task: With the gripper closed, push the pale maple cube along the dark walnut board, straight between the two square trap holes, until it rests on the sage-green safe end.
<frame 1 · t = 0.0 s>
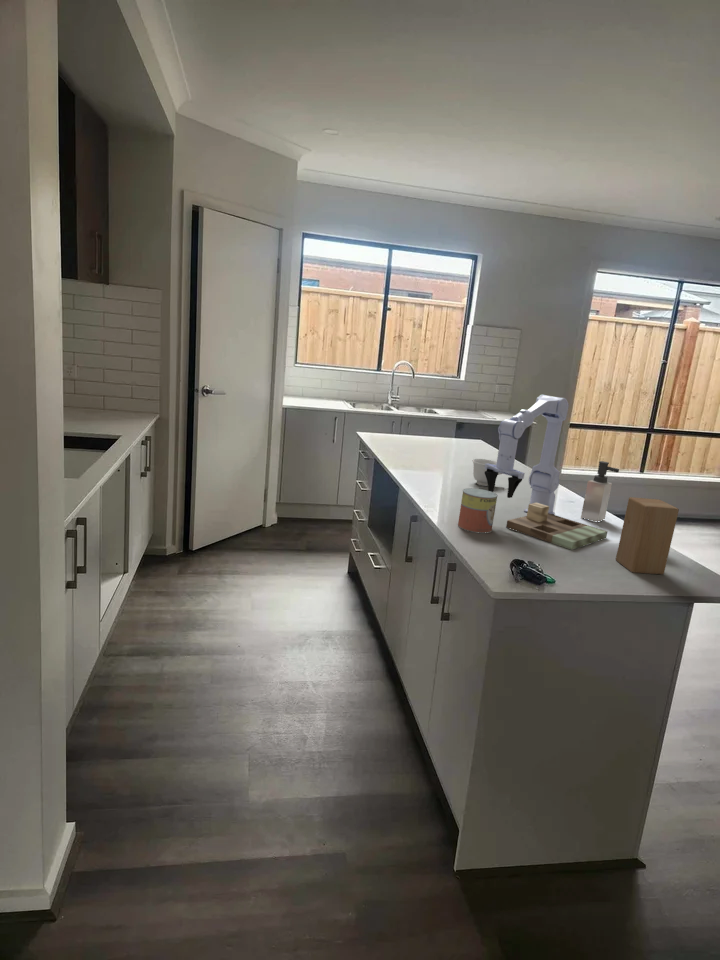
hand: (500, 494, 211), 10 cm above the countertop, tool pointing down, fingers open, 7 cm apart
maple cube: (536, 519, 214), point 2 cm above the countertop, touching trap board
canned food: (474, 528, 205), on the countertop
trap board: (556, 532, 209), on the countertop
teacup: (486, 485, 271), on the countertop
wooden block: (638, 568, 183), on the countertop
soap dispenser: (595, 520, 232), on the countertop
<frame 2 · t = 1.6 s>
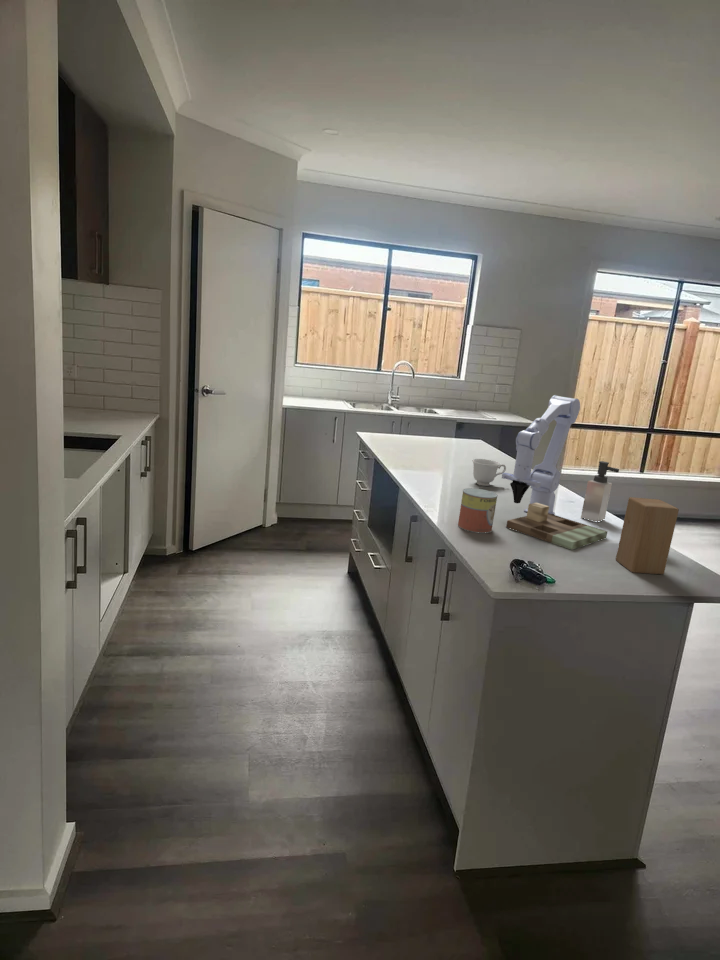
hand: (516, 502, 219), 6 cm above the countertop, tool pointing down, fingers closed
nothing on the countertop moved.
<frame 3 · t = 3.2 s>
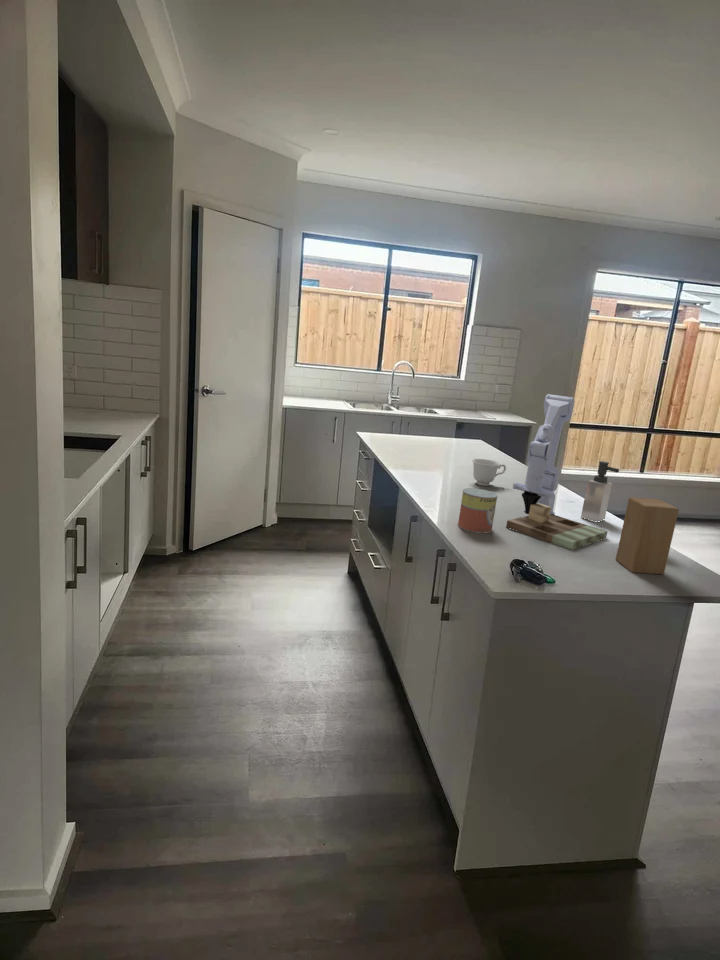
hand: (528, 513, 216), 4 cm above the countertop, tool pointing down, fingers closed
maple cube: (538, 519, 214), point 3 cm above the countertop, touching gripper, trap board
everything else where it was.
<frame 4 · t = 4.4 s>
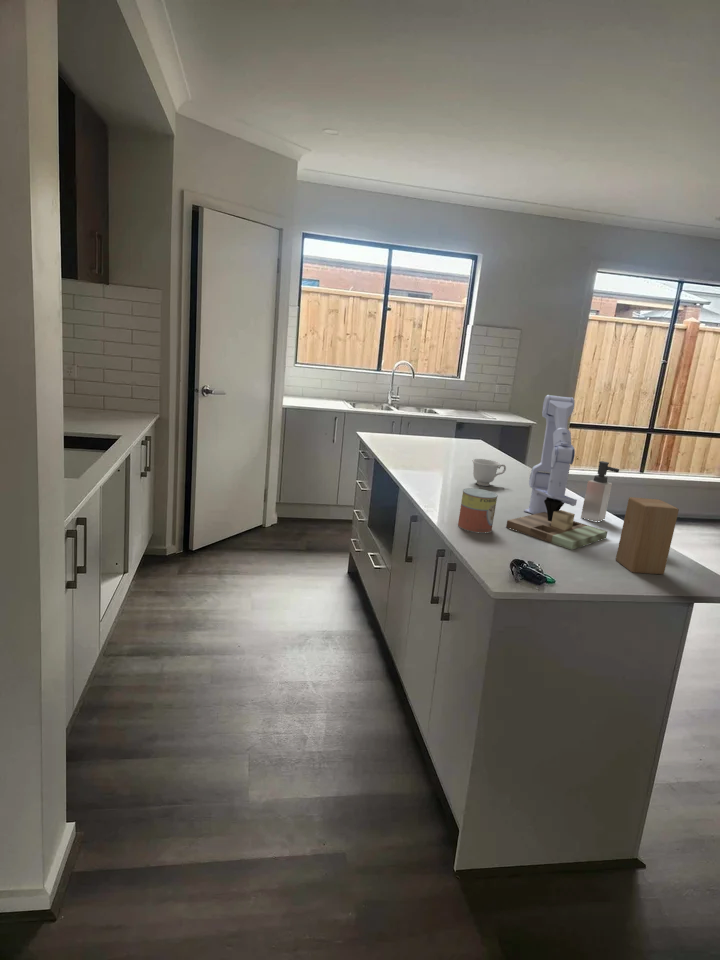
hand: (550, 520, 210), 4 cm above the countertop, tool pointing down, fingers closed
maple cube: (561, 527, 208), point 3 cm above the countertop, touching gripper
everything else where it was.
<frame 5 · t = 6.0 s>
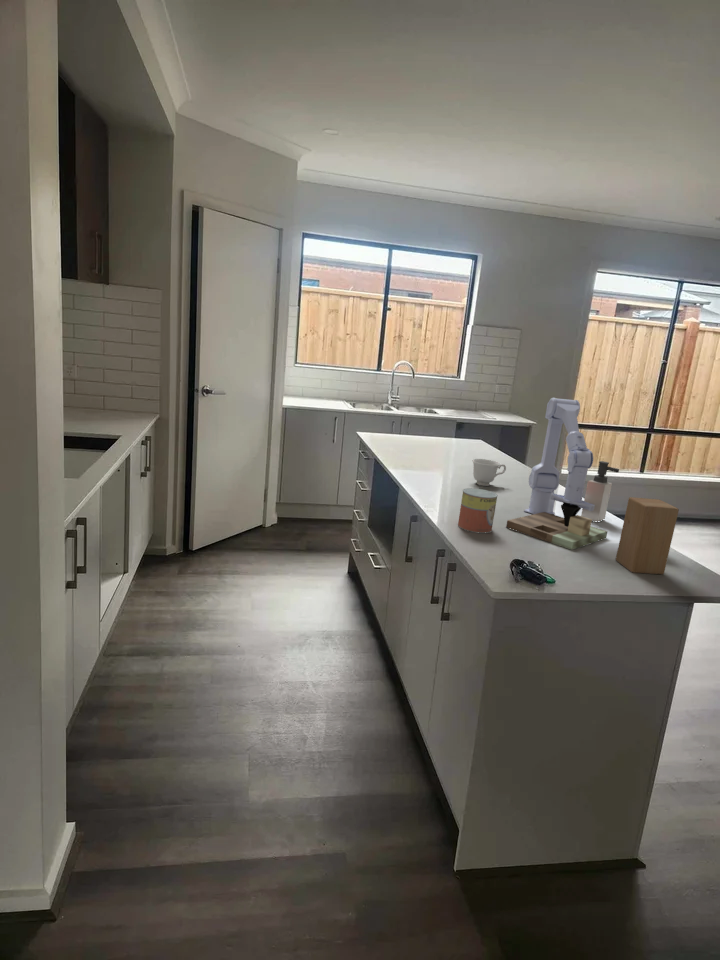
hand: (567, 525, 206), 4 cm above the countertop, tool pointing down, fingers closed
maple cube: (578, 532, 204), point 2 cm above the countertop, touching gripper, trap board
everything else where it was.
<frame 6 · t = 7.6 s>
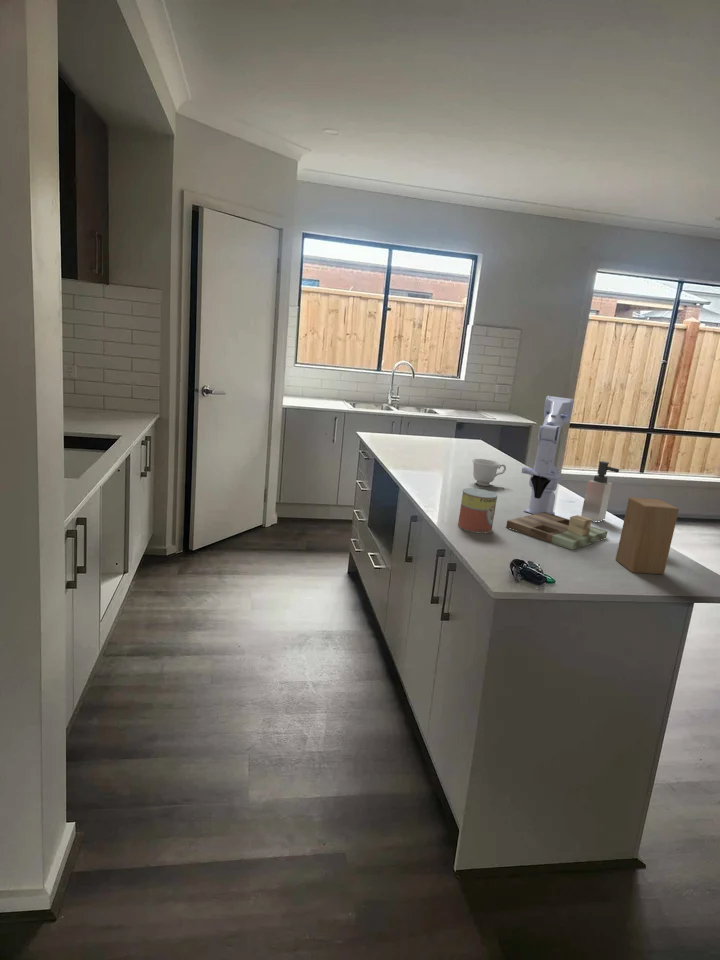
hand: (537, 497, 216), 9 cm above the countertop, tool pointing down, fingers closed
maple cube: (578, 532, 204), point 2 cm above the countertop, touching trap board
everything else where it was.
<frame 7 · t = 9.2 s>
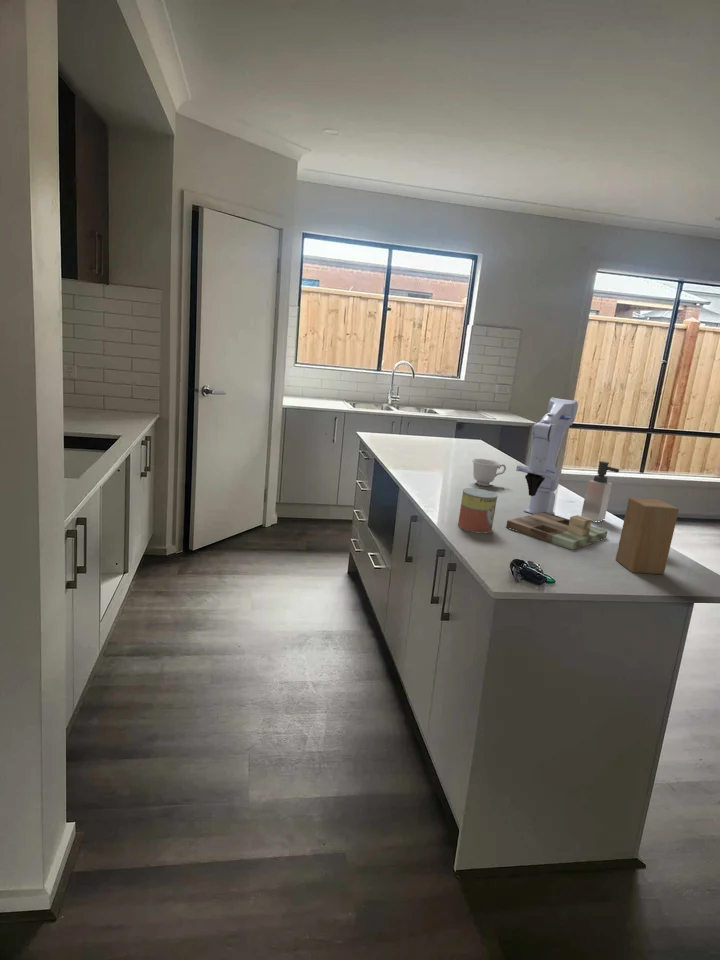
hand: (531, 495, 218), 9 cm above the countertop, tool pointing down, fingers closed
nothing on the countertop moved.
at the end: maple cube inside the target area on the trap board (0.7 cm from its centre), point 2.5 cm above the trap board's base; maple cube tilted 0° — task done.
